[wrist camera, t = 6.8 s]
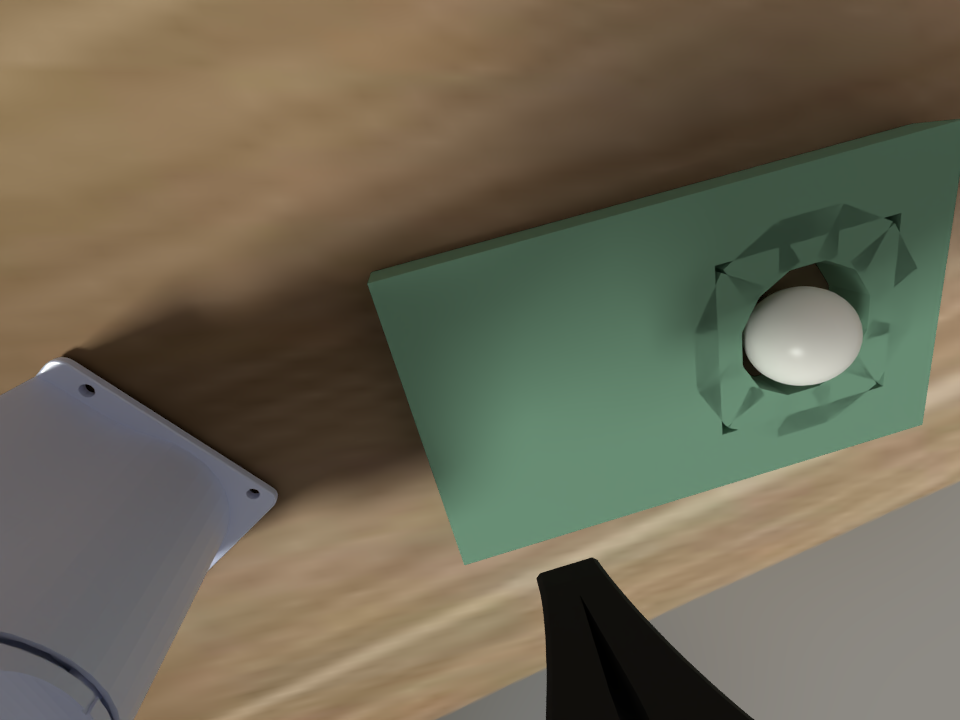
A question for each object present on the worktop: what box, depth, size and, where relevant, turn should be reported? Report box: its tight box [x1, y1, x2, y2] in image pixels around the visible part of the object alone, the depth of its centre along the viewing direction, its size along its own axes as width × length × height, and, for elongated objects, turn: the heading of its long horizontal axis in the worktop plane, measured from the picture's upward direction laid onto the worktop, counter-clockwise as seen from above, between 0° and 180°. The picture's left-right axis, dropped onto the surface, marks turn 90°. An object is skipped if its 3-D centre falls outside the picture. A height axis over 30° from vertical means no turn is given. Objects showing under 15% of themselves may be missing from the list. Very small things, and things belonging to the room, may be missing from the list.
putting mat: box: [367, 119, 960, 565], centre depth 20 cm, size 22×13×2 cm, turn 104°
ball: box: [742, 286, 863, 386], centre depth 19 cm, size 4×4×4 cm
